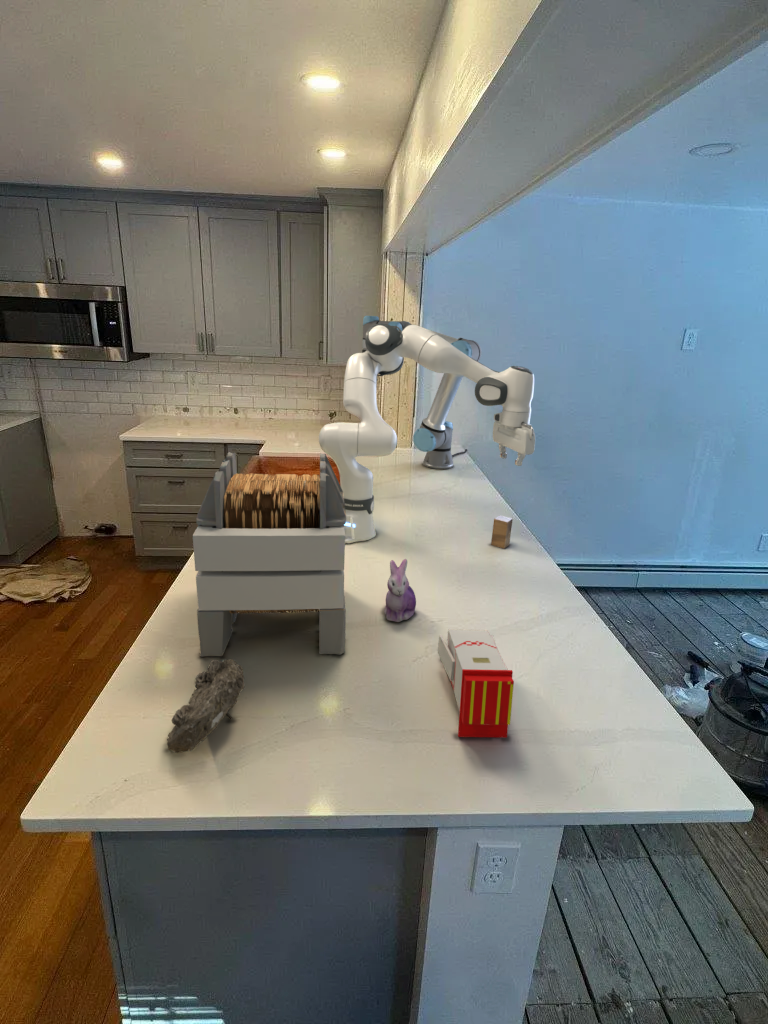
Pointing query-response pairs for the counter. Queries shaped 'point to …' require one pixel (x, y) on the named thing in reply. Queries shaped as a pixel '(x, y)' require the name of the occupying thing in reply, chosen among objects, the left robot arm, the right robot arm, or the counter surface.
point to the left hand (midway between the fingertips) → (510, 461)
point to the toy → (478, 682)
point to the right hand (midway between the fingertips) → (368, 393)
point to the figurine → (399, 594)
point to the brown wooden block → (501, 531)
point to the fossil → (206, 705)
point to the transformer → (270, 552)
